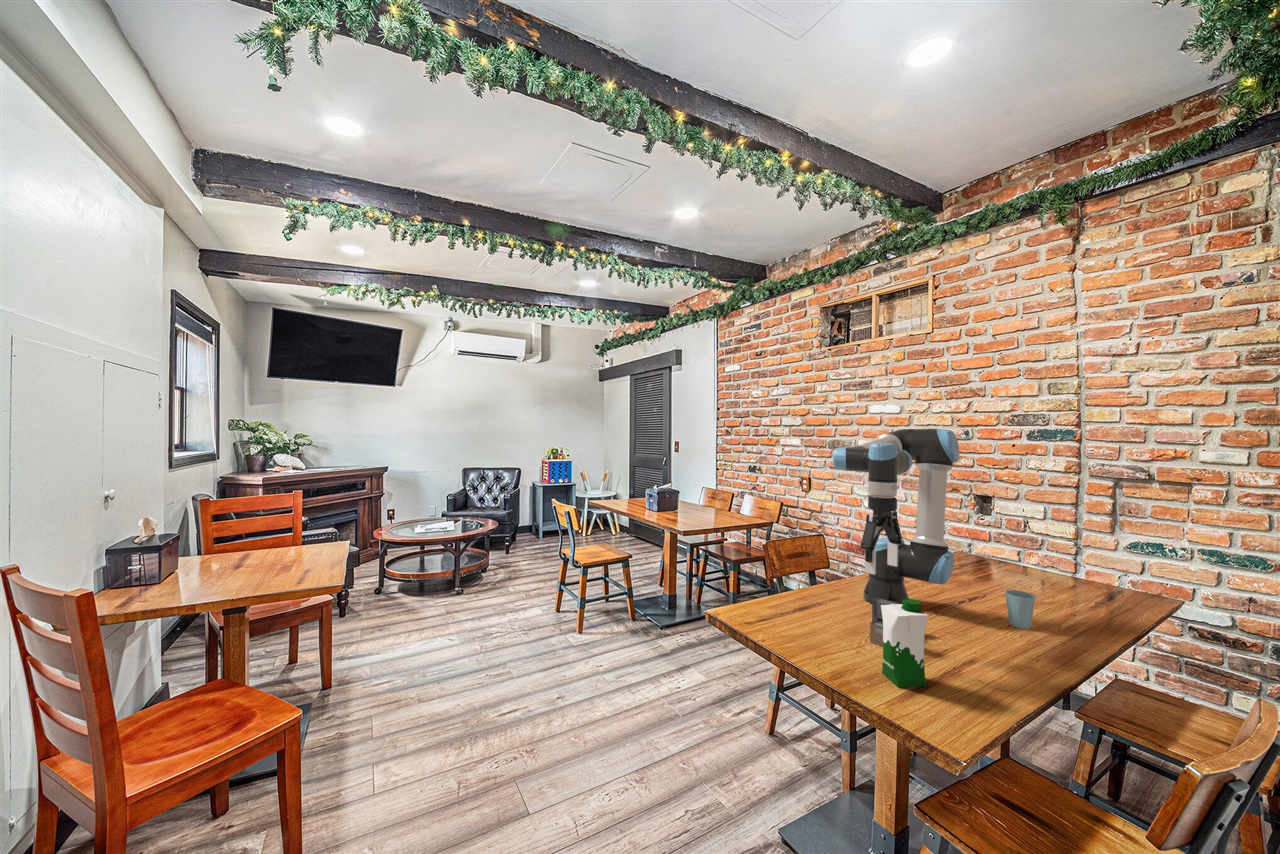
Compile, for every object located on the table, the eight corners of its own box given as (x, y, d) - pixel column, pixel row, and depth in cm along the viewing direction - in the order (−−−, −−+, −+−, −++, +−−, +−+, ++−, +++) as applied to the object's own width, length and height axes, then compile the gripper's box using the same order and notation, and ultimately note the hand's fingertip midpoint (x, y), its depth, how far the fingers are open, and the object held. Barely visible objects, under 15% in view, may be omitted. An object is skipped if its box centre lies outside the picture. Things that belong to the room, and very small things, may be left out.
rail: (897, 652, 137) (897, 629, 137) (863, 640, 145) (863, 617, 145) (925, 636, 148) (925, 614, 148) (892, 625, 156) (892, 605, 156)
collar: (896, 645, 140) (896, 607, 140) (871, 636, 145) (872, 600, 145) (901, 642, 142) (902, 604, 142) (877, 633, 148) (877, 597, 148)
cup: (1040, 628, 155) (1040, 596, 155) (1026, 632, 152) (1026, 599, 152) (1014, 619, 162) (1014, 588, 162) (1000, 623, 159) (1000, 591, 159)
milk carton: (931, 688, 118) (932, 607, 118) (896, 690, 117) (897, 608, 117) (908, 670, 127) (909, 595, 127) (876, 671, 126) (876, 595, 126)
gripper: (874, 501, 129) (873, 580, 129) (914, 494, 144) (914, 565, 144) (847, 497, 135) (846, 573, 135) (889, 491, 150) (888, 559, 150)
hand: (881, 569), depth 139 cm, fingers open, 13 cm apart
